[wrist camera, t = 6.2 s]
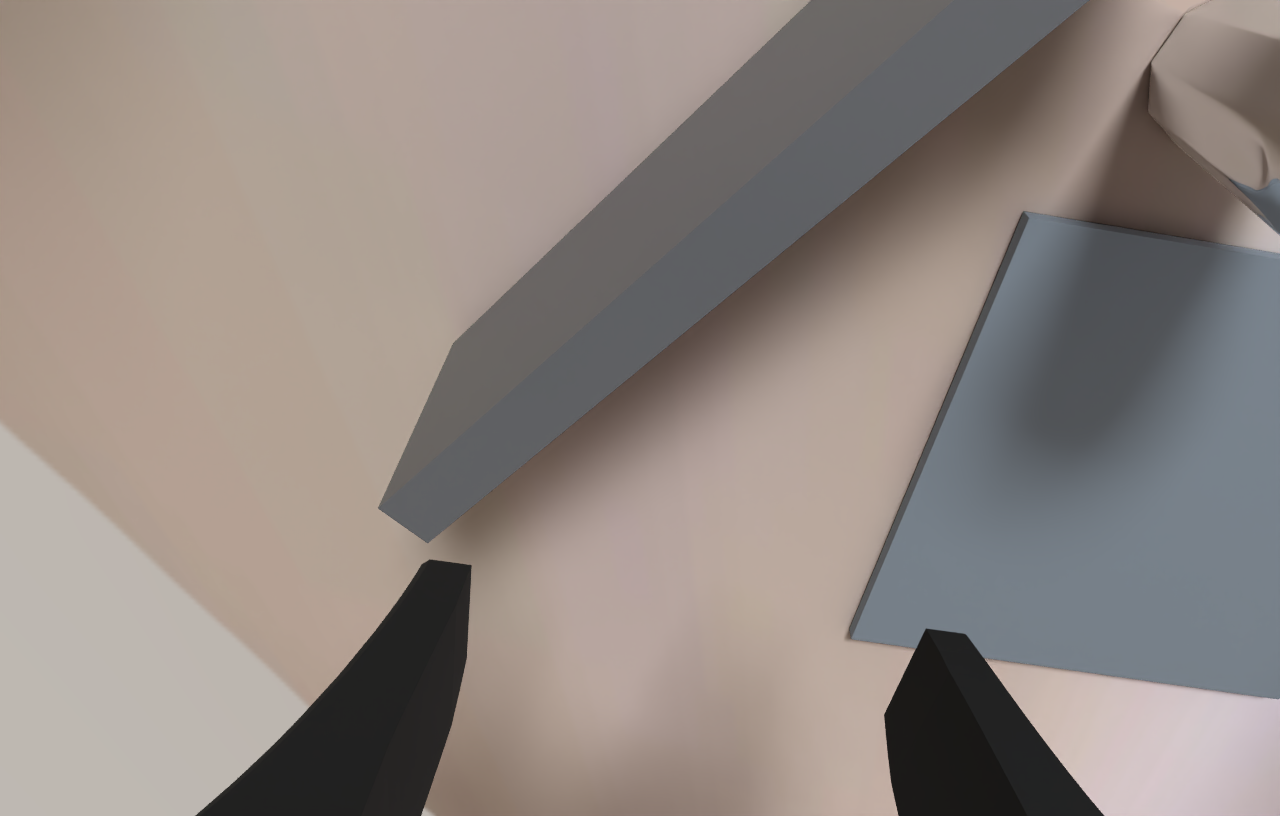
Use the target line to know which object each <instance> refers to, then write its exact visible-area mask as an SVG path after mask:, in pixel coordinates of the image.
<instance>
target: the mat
mask: <svg viewBox="0 0 1280 816" xmlns="http://www.w3.org/2000/svg"><path fill="white" fill-rule="evenodd" d="M926 628H927V629H934V630H942V631H949V632H956V633H963V634H966V635H967V636H968V637H969V639H970V640H971V642H972V643H973V644H974V646H975V647H976V648H977V650H978V651H979V652H980V654H981V655H982V657H983V658H989V659H996V660H1003V661H1010V662H1017V663H1024V664H1031V665H1038V666H1045V667H1053V668H1060V669H1067V670H1074V671H1081V672H1088V673H1095V674H1102V675H1109V676H1116V677H1124V678H1131V679H1138V680H1145V681H1152V682H1159V683H1166V684H1173V685H1180V686H1187V687H1194V688H1202V689H1209V690H1216V691H1223V692H1230V693H1237V694H1244V695H1251V696H1258V697H1265V698H1273V699H1279V698H1280V254H1278V253H1272V252H1266V251H1260V250H1254V249H1248V248H1242V247H1236V246H1230V245H1224V244H1218V243H1212V242H1206V241H1200V240H1194V239H1188V238H1182V237H1176V236H1170V235H1164V234H1158V233H1152V232H1146V231H1140V230H1133V229H1127V228H1121V227H1115V226H1109V225H1103V224H1097V223H1091V222H1085V221H1079V220H1073V219H1067V218H1061V217H1055V216H1049V215H1043V214H1037V213H1031V212H1025V211H1024V212H1023V214H1022V216H1021V219H1020V221H1019V224H1018V226H1017V228H1016V231H1015V233H1014V236H1013V238H1012V240H1011V243H1010V245H1009V248H1008V250H1007V252H1006V255H1005V257H1004V260H1003V262H1002V264H1001V267H1000V269H999V272H998V274H997V276H996V279H995V281H994V283H993V286H992V288H991V291H990V293H989V295H988V298H987V300H986V303H985V305H984V307H983V310H982V312H981V315H980V317H979V319H978V322H977V324H976V327H975V329H974V331H973V334H972V336H971V339H970V341H969V343H968V346H967V348H966V351H965V353H964V355H963V358H962V360H961V363H960V365H959V367H958V370H957V372H956V375H955V377H954V379H953V382H952V384H951V387H950V389H949V391H948V394H947V396H946V399H945V401H944V403H943V406H942V408H941V411H940V413H939V415H938V418H937V420H936V423H935V425H934V427H933V430H932V432H931V435H930V437H929V439H928V442H927V444H926V446H925V449H924V451H923V454H922V456H921V458H920V461H919V463H918V466H917V468H916V470H915V473H914V475H913V478H912V480H911V482H910V485H909V487H908V490H907V492H906V494H905V497H904V499H903V502H902V504H901V506H900V509H899V511H898V514H897V516H896V518H895V521H894V523H893V526H892V528H891V530H890V533H889V535H888V538H887V540H886V542H885V545H884V547H883V550H882V552H881V554H880V557H879V559H878V562H877V564H876V566H875V569H874V571H873V574H872V576H871V578H870V581H869V583H868V586H867V588H866V590H865V593H864V595H863V597H862V600H861V602H860V605H859V607H858V609H857V612H856V614H855V617H854V619H853V621H852V624H851V626H850V629H849V631H850V636H851V639H854V640H861V641H868V642H875V643H882V644H889V645H896V646H904V647H911V648H917V646H918V644H919V641H920V639H921V637H922V635H923V633H924V631H925V629H926Z"/></svg>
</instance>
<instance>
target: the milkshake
mask: <svg viewBox="0 0 1280 816" xmlns="http://www.w3.org/2000/svg"><path fill="white" fill-rule="evenodd" d="M1148 113H1149V114H1150V115H1151V116H1152V117H1153V118H1154V119H1155V121H1156V122H1157V123H1158V124H1159V125H1160V126H1161V128H1162V129H1163V130H1164V131H1165V132H1166V133H1167V135H1168V136H1169V137H1170V138H1171V139H1172V141H1173V142H1174V143H1175V144H1176V145H1177V146H1178V147H1179V148H1180V149H1181V150H1182V151H1183V152H1185V153H1186V154H1187V155H1188V156H1189V157H1190V158H1191V159H1193V160H1194V161H1195V162H1196V163H1197V164H1198V165H1200V166H1201V167H1202V168H1203V169H1204V170H1205V171H1206V172H1208V173H1209V174H1210V175H1211V176H1212V177H1213V178H1214V179H1216V180H1217V181H1218V182H1219V183H1220V184H1221V185H1222V186H1224V187H1225V188H1226V189H1227V190H1228V191H1229V192H1231V193H1232V194H1233V195H1234V196H1235V197H1236V198H1237V199H1239V200H1240V201H1241V202H1242V203H1243V204H1244V205H1245V206H1247V207H1248V208H1249V209H1250V210H1251V211H1252V212H1253V213H1255V214H1256V215H1257V216H1258V217H1259V218H1260V219H1261V220H1263V221H1264V222H1265V223H1266V224H1267V225H1268V226H1269V227H1271V228H1272V229H1273V230H1274V231H1275V232H1276V233H1277V234H1278V235H1280V0H1210V1H1208V2H1206V3H1204V4H1202V5H1200V6H1198V7H1196V8H1195V9H1193V10H1191V11H1189V12H1187V13H1186V14H1185V15H1184V16H1183V18H1182V19H1181V21H1180V22H1179V24H1178V25H1177V26H1176V28H1175V29H1174V31H1173V32H1172V34H1171V35H1170V36H1169V38H1168V39H1167V41H1166V42H1165V43H1164V45H1163V46H1162V48H1161V49H1160V51H1159V52H1158V53H1157V55H1156V56H1155V58H1154V59H1153V60H1152V62H1151V73H1150V88H1149V102H1148Z"/></svg>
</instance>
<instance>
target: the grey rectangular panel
mask: <svg viewBox="0 0 1280 816" xmlns="http://www.w3.org/2000/svg"><path fill="white" fill-rule="evenodd" d="M1088 1H1089V0H811V1H810V2H809V3H808V4H807V5H806V6H805V7H804V8H803V9H802V10H801V11H800V12H799V13H797V14H796V15H795V16H794V17H793V18H792V19H791V20H790V21H789V22H788V23H787V24H786V25H785V26H784V27H783V28H782V29H781V30H780V31H779V32H778V33H777V34H776V35H775V36H773V37H772V38H771V39H770V40H769V41H768V42H767V43H766V44H765V45H764V46H763V47H762V48H761V49H760V50H759V51H758V52H757V53H756V54H755V55H754V56H753V57H752V58H751V59H749V60H748V61H747V62H746V63H745V64H744V65H743V66H742V67H741V68H740V69H739V70H738V71H737V72H736V73H735V74H734V75H733V76H732V77H731V78H730V79H729V80H728V81H727V82H725V83H724V84H723V85H722V86H721V87H720V88H719V89H718V90H717V91H716V92H715V93H714V94H713V95H712V96H711V97H710V98H709V99H708V100H707V101H706V102H705V103H704V104H703V105H701V106H700V107H699V108H698V109H697V110H696V111H695V112H694V113H693V114H692V115H691V116H690V117H689V118H688V119H687V120H686V121H685V122H684V123H683V124H682V125H681V126H680V127H679V128H677V129H676V130H675V131H674V132H673V133H672V134H671V135H670V136H669V137H668V138H667V139H666V140H665V141H664V142H663V143H662V144H661V145H660V146H659V147H658V148H657V149H656V150H655V151H653V152H652V153H651V154H650V155H649V156H648V157H647V158H646V159H645V160H644V161H643V162H642V163H641V164H640V165H639V166H638V167H637V168H636V169H635V170H634V171H633V172H632V173H630V174H629V175H628V176H627V177H626V178H625V179H624V180H623V181H622V182H621V183H620V184H619V185H618V186H617V187H616V188H615V189H614V190H613V191H612V192H611V193H610V194H609V195H608V196H606V197H605V198H604V199H603V200H602V201H601V202H600V203H599V204H598V205H597V206H596V207H595V208H594V209H593V210H592V211H591V212H590V213H589V214H588V215H587V216H586V217H585V218H584V219H582V220H581V221H580V222H579V223H578V224H577V225H576V226H575V227H574V228H573V229H572V230H571V231H570V232H569V233H568V234H567V235H566V236H565V237H564V238H563V239H562V240H561V241H560V242H558V243H557V244H556V245H555V246H554V247H553V248H552V249H551V250H550V251H549V252H548V253H547V254H546V255H545V256H544V257H543V258H542V259H541V260H540V261H539V262H538V263H537V264H536V265H534V266H533V267H532V268H531V269H530V270H529V271H528V272H527V273H526V274H525V275H524V276H523V277H522V278H521V279H520V280H519V281H518V282H517V283H516V284H515V285H514V286H513V287H512V288H510V289H509V290H508V291H507V292H506V293H505V294H504V295H503V296H502V297H501V298H500V299H499V300H498V301H497V302H496V303H495V304H494V305H493V306H492V307H491V308H490V309H489V310H488V311H486V312H485V313H484V314H483V315H482V316H481V317H480V318H479V319H478V320H477V321H476V322H475V323H474V324H473V325H472V326H471V327H470V328H469V329H468V330H467V331H466V332H465V333H463V334H462V335H461V336H460V337H459V338H458V339H457V340H456V341H455V342H454V343H453V345H452V347H451V349H450V351H449V354H448V356H447V358H446V360H445V362H444V365H443V367H442V369H441V371H440V373H439V376H438V378H437V380H436V382H435V384H434V387H433V389H432V391H431V393H430V395H429V398H428V400H427V402H426V404H425V406H424V408H423V411H422V413H421V415H420V417H419V419H418V422H417V424H416V426H415V428H414V430H413V433H412V435H411V437H410V439H409V441H408V444H407V446H406V448H405V450H404V452H403V455H402V457H401V459H400V461H399V463H398V466H397V468H396V470H395V472H394V474H393V476H392V479H391V481H390V483H389V485H388V487H387V490H386V492H385V494H384V496H383V498H382V501H381V503H380V505H379V507H378V509H380V510H381V511H382V512H384V513H385V514H387V515H388V516H389V517H391V518H392V519H394V520H395V521H397V522H398V523H399V524H401V525H402V526H404V527H405V528H407V529H408V530H409V531H411V532H412V533H414V534H415V535H417V536H418V537H419V538H421V539H422V540H424V541H425V542H427V543H429V542H430V541H431V540H432V539H434V538H435V537H436V536H437V535H438V534H440V533H441V532H442V531H443V530H444V529H446V528H447V527H448V526H449V525H451V524H452V523H453V522H454V521H455V520H457V519H458V518H459V517H460V516H462V515H463V514H464V513H465V512H466V511H468V510H469V509H470V508H471V507H472V506H474V505H475V504H476V503H477V502H479V501H480V500H481V499H482V498H483V497H485V496H486V495H487V494H488V493H490V492H491V491H492V490H493V489H494V488H496V487H497V486H498V485H499V484H501V483H502V482H503V481H504V480H505V479H507V478H508V477H509V476H510V475H511V474H513V473H514V472H515V471H516V470H518V469H519V468H520V467H521V466H522V465H524V464H525V463H526V462H527V461H529V460H530V459H531V458H532V457H533V456H535V455H536V454H537V453H538V452H540V451H541V450H542V449H543V448H544V447H546V446H547V445H548V444H549V443H550V442H552V441H553V440H554V439H555V438H557V437H558V436H559V435H560V434H561V433H563V432H564V431H565V430H566V429H568V428H569V427H570V426H571V425H572V424H574V423H575V422H576V421H577V420H578V419H580V418H581V417H582V416H583V415H585V414H586V413H587V412H588V411H589V410H591V409H592V408H593V407H594V406H596V405H597V404H598V403H599V402H600V401H602V400H603V399H604V398H605V397H607V396H608V395H609V394H610V393H611V392H613V391H614V390H615V389H616V388H617V387H619V386H620V385H621V384H622V383H624V382H625V381H626V380H627V379H628V378H630V377H631V376H632V375H633V374H635V373H636V372H637V371H638V370H639V369H641V368H642V367H643V366H644V365H645V364H647V363H648V362H649V361H650V360H652V359H653V358H654V357H655V356H656V355H658V354H659V353H660V352H661V351H663V350H664V349H665V348H666V347H667V346H669V345H670V344H671V343H672V342H674V341H675V340H676V339H677V338H678V337H680V336H681V335H682V334H683V333H684V332H686V331H687V330H688V329H689V328H691V327H692V326H693V325H694V324H695V323H697V322H698V321H699V320H700V319H702V318H703V317H704V316H705V315H706V314H708V313H709V312H710V311H711V310H713V309H714V308H715V307H716V306H717V305H719V304H720V303H721V302H722V301H723V300H725V299H726V298H727V297H728V296H730V295H731V294H732V293H733V292H734V291H736V290H737V289H738V288H739V287H741V286H742V285H743V284H744V283H745V282H747V281H748V280H749V279H750V278H751V277H753V276H754V275H755V274H756V273H758V272H759V271H760V270H761V269H762V268H764V267H765V266H766V265H767V264H769V263H770V262H771V261H772V260H773V259H775V258H776V257H777V256H778V255H780V254H781V253H782V252H783V251H784V250H786V249H787V248H788V247H789V246H790V245H792V244H793V243H794V242H795V241H797V240H798V239H799V238H800V237H801V236H803V235H804V234H805V233H806V232H808V231H809V230H810V229H811V228H812V227H814V226H815V225H816V224H817V223H819V222H820V221H821V220H822V219H823V218H825V217H826V216H827V215H828V214H829V213H831V212H832V211H833V210H834V209H836V208H837V207H838V206H839V205H840V204H842V203H843V202H844V201H845V200H847V199H848V198H849V197H850V196H851V195H853V194H854V193H855V192H856V191H857V190H859V189H860V188H861V187H862V186H864V185H865V184H866V183H867V182H868V181H870V180H871V179H872V178H873V177H875V176H876V175H877V174H878V173H879V172H881V171H882V170H883V169H884V168H886V167H887V166H888V165H889V164H890V163H892V162H893V161H894V160H895V159H896V158H898V157H899V156H900V155H901V154H903V153H904V152H905V151H906V150H907V149H909V148H910V147H911V146H912V145H914V144H915V143H916V142H917V141H918V140H920V139H921V138H922V137H923V136H924V135H926V134H927V133H928V132H929V131H931V130H932V129H933V128H934V127H935V126H937V125H938V124H939V123H940V122H942V121H943V120H944V119H945V118H946V117H948V116H949V115H950V114H951V113H953V112H954V111H955V110H956V109H957V108H959V107H960V106H961V105H962V104H963V103H965V102H966V101H967V100H968V99H970V98H971V97H972V96H973V95H974V94H976V93H977V92H978V91H979V90H981V89H982V88H983V87H984V86H985V85H987V84H988V83H989V82H990V81H992V80H993V79H994V78H995V77H996V76H998V75H999V74H1000V73H1001V72H1002V71H1004V70H1005V69H1006V68H1007V67H1009V66H1010V65H1011V64H1012V63H1013V62H1015V61H1016V60H1017V59H1018V58H1020V57H1021V56H1022V55H1023V54H1024V53H1026V52H1027V51H1028V50H1029V49H1030V48H1032V47H1033V46H1034V45H1035V44H1037V43H1038V42H1039V41H1040V40H1041V39H1043V38H1044V37H1045V36H1046V35H1048V34H1049V33H1050V32H1051V31H1052V30H1054V29H1055V28H1056V27H1057V26H1059V25H1060V24H1061V23H1062V22H1063V21H1065V20H1066V19H1067V18H1068V17H1069V16H1071V15H1072V14H1073V13H1074V12H1076V11H1077V10H1078V9H1079V8H1080V7H1082V6H1083V5H1084V4H1085V3H1087V2H1088Z"/></svg>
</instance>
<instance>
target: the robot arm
mask: <svg viewBox="0 0 1280 816" xmlns="http://www.w3.org/2000/svg"><path fill="white" fill-rule="evenodd" d="M471 566H472V565H466V564H459V563H451V562H444V561H437V560H428V561H427V562H425V563H423V564H422V565H421V567H420V568H419V570H418V572H417V573H416V575H415V576H414V578H413V579H412V581H411V582H410V584H409V585H408V587H407V588H406V590H405V591H404V593H403V594H402V596H401V597H400V598H399V600H398V601H397V603H396V604H395V605H394V607H393V608H392V610H391V611H390V612H389V614H388V615H387V616H386V617H385V619H384V620H383V621H382V623H381V624H380V625H379V627H378V628H377V629H376V631H375V632H374V633H373V634H372V636H371V637H370V638H369V639H368V640H367V642H366V643H365V644H364V645H363V647H362V648H361V649H360V650H359V651H358V653H357V654H356V655H355V656H354V658H353V659H352V660H351V661H350V662H349V664H348V665H347V666H346V667H345V668H344V670H343V671H342V672H341V673H340V674H339V675H338V677H337V678H336V679H335V680H334V681H333V682H332V683H331V684H330V685H329V687H328V688H327V689H326V690H325V691H324V692H323V693H322V694H321V695H320V696H319V697H318V699H317V700H316V701H315V702H314V703H313V704H312V705H311V706H310V707H309V708H308V709H307V711H306V712H305V713H304V714H303V715H302V716H301V717H300V718H299V719H298V720H297V721H296V723H294V725H293V726H292V727H291V728H290V729H289V730H288V731H287V732H286V733H285V734H284V735H283V736H282V737H281V738H280V739H279V740H278V741H277V742H276V743H275V744H274V745H273V746H272V747H271V748H270V749H269V750H268V751H267V752H265V754H263V755H262V756H261V757H260V758H259V759H258V760H257V761H256V762H255V763H254V764H253V765H252V766H251V767H250V768H249V769H248V770H246V771H245V772H244V773H243V774H242V775H241V776H240V777H239V778H238V779H237V780H236V781H235V782H233V783H232V784H231V785H230V786H229V787H228V788H227V789H225V790H224V791H223V792H222V793H221V794H220V795H219V796H218V797H216V798H215V799H214V800H213V801H212V802H211V803H209V804H208V805H207V806H206V807H205V808H204V809H203V810H202V811H200V812H199V813H198V814H197V815H196V816H421V814H422V811H423V808H424V805H425V802H426V800H427V797H428V794H429V791H430V788H431V785H432V782H433V779H434V776H435V773H436V770H437V767H438V764H439V761H440V758H441V755H442V752H443V749H444V746H445V743H446V740H447V737H448V734H449V731H450V728H451V725H452V721H453V717H454V712H455V708H456V704H457V699H458V695H459V691H460V686H461V682H462V677H463V673H464V668H465V664H466V659H467V642H468V623H469V604H470V585H471ZM884 718H885V729H886V740H887V750H888V759H889V767H890V776H891V783H892V788H893V793H894V797H895V802H896V806H897V811H898V815H899V816H1104V815H1103V814H1102V813H1101V811H1100V810H1099V809H1098V808H1097V807H1096V805H1095V804H1094V803H1093V802H1092V801H1091V800H1090V798H1089V797H1088V796H1087V795H1086V793H1085V792H1084V791H1083V790H1082V788H1081V787H1080V786H1079V785H1078V784H1077V782H1076V781H1075V780H1074V779H1073V777H1072V776H1071V775H1070V774H1069V772H1068V771H1067V770H1066V768H1065V767H1064V766H1063V765H1062V763H1061V762H1060V761H1059V760H1058V758H1057V757H1056V756H1055V754H1054V753H1053V752H1052V750H1051V749H1050V748H1049V746H1048V745H1047V744H1046V743H1045V741H1044V740H1043V739H1042V737H1041V736H1040V735H1039V733H1038V732H1037V731H1036V729H1035V728H1034V727H1033V725H1032V724H1031V723H1030V721H1029V720H1028V719H1027V717H1026V716H1025V714H1024V713H1023V712H1022V710H1021V709H1020V708H1019V706H1018V705H1017V704H1016V702H1015V701H1014V699H1013V698H1012V697H1011V695H1010V694H1009V693H1008V691H1007V690H1006V688H1005V687H1004V686H1003V684H1002V683H1001V681H1000V680H999V679H998V677H997V676H996V675H995V673H994V672H993V670H992V669H991V668H990V666H989V665H988V663H987V662H986V661H985V659H984V658H983V657H982V655H981V654H980V652H979V651H978V650H977V648H976V647H975V646H974V644H973V643H972V642H971V640H970V639H969V637H968V636H967V635H966V634H963V633H956V632H949V631H942V630H934V629H927V628H926V629H925V631H924V633H923V635H922V637H921V639H920V641H919V644H918V646H917V648H916V650H915V652H914V654H913V656H912V658H911V660H910V662H909V664H908V666H907V668H906V671H905V673H904V675H903V677H902V679H901V681H900V683H899V685H898V687H897V689H896V691H895V693H894V695H893V697H892V700H891V702H890V704H889V706H888V708H887V710H886V712H885V714H884Z"/></svg>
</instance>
